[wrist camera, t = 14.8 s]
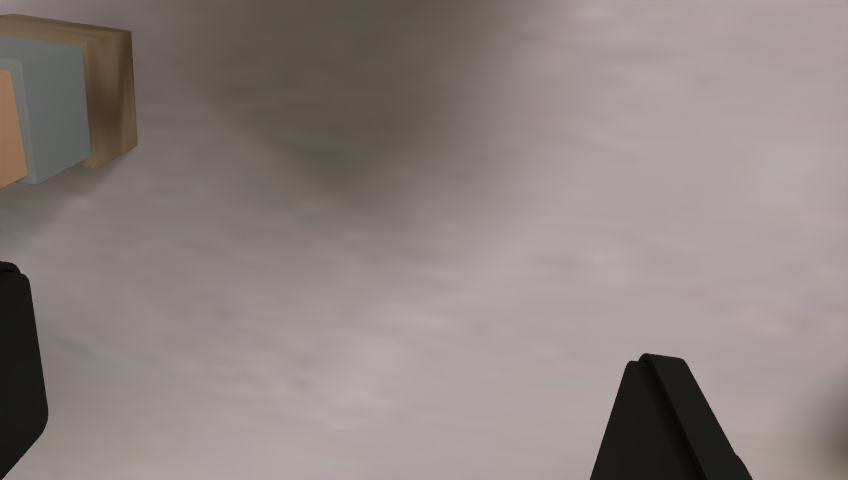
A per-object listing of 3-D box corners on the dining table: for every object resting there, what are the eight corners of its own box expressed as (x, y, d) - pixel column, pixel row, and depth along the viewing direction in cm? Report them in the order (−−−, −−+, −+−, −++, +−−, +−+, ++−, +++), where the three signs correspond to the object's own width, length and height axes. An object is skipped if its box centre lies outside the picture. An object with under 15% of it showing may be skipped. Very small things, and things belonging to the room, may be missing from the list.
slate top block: (-32, 29, 33) (-110, 41, 29) (81, 46, 33) (21, 60, 29) (-15, 140, 36) (-85, 167, 31) (91, 155, 36) (36, 185, 31)
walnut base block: (15, 13, 38) (-47, 21, 33) (131, 31, 38) (86, 41, 33) (29, 128, 41) (-26, 150, 36) (137, 144, 41) (97, 168, 36)
